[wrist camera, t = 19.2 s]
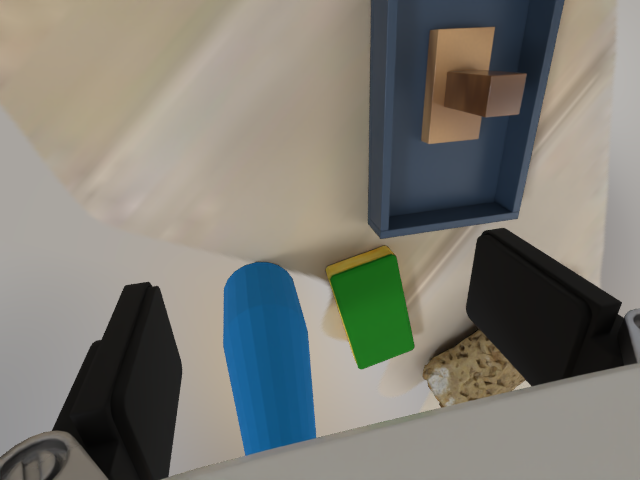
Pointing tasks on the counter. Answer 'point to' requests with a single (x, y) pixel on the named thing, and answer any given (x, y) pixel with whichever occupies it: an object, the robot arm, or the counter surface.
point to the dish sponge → (372, 306)
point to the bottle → (268, 358)
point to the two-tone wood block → (465, 85)
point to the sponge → (470, 372)
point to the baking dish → (459, 156)
